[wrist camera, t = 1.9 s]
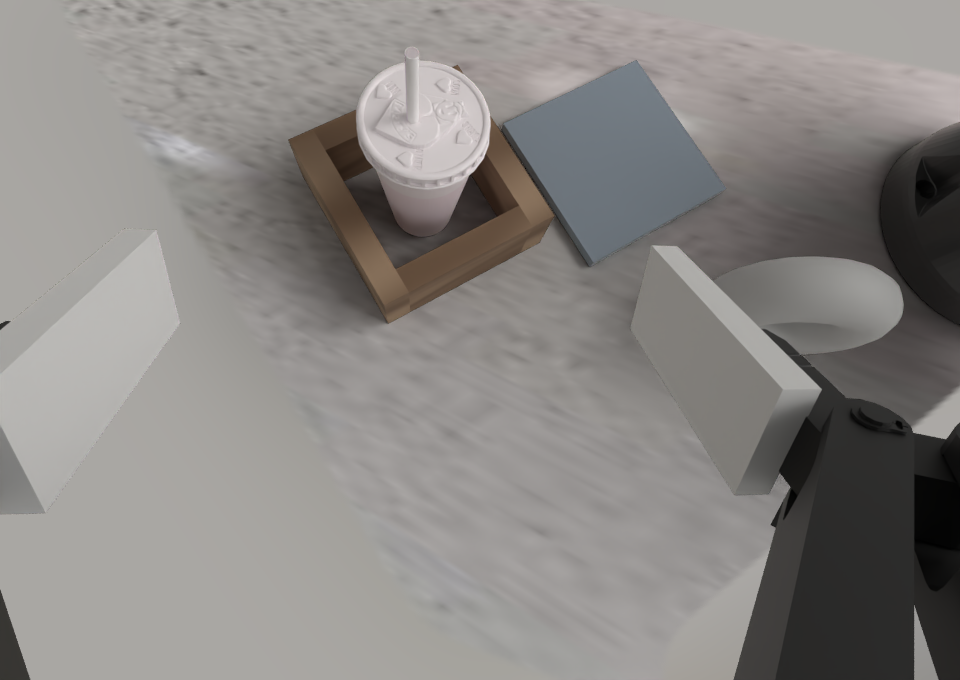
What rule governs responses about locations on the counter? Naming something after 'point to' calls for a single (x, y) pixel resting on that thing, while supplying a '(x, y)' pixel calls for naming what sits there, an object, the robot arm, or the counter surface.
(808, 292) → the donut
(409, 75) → the smoothie
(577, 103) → the coaster
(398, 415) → the counter surface
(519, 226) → the collar
